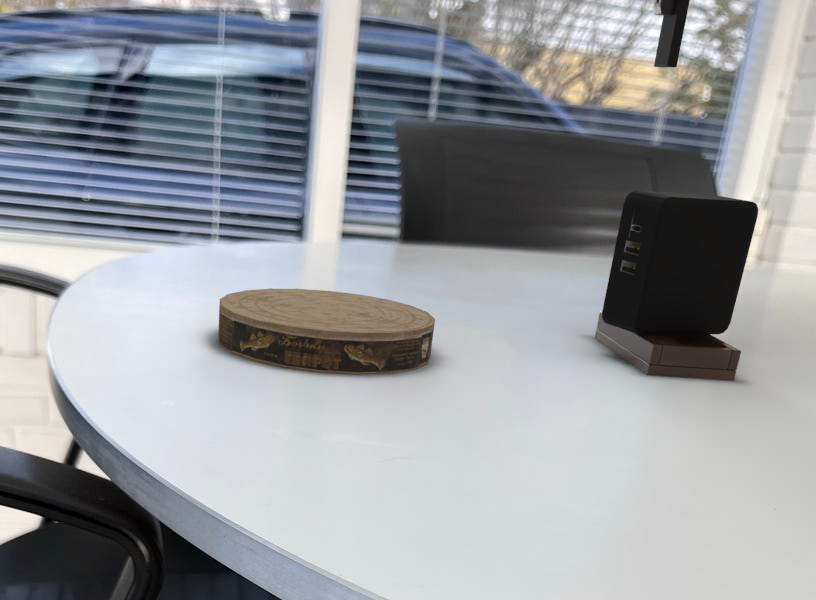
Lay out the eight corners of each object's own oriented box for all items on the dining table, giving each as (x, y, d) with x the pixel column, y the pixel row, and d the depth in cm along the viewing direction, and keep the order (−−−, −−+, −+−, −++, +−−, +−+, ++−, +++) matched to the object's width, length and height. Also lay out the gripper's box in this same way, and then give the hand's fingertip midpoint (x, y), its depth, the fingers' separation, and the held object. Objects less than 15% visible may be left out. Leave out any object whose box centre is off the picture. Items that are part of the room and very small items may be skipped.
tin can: (180, 353, 74) (181, 309, 73) (265, 318, 88) (267, 280, 87) (397, 389, 70) (402, 344, 69) (451, 347, 84) (456, 308, 83)
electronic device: (598, 324, 85) (625, 189, 80) (692, 323, 89) (722, 195, 85) (633, 335, 82) (663, 196, 77) (728, 334, 86) (762, 202, 81)
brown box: (670, 346, 93) (677, 316, 92) (733, 383, 81) (742, 350, 80) (593, 340, 92) (599, 311, 91) (646, 377, 80) (653, 344, 79)
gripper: (675, -323, 67) (609, 59, 77) (1034, -273, 70) (927, 88, 80) (634, -287, 73) (578, 60, 83) (964, -243, 76) (872, 87, 86)
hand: (748, 75), depth 81 cm, fingers open, 13 cm apart
